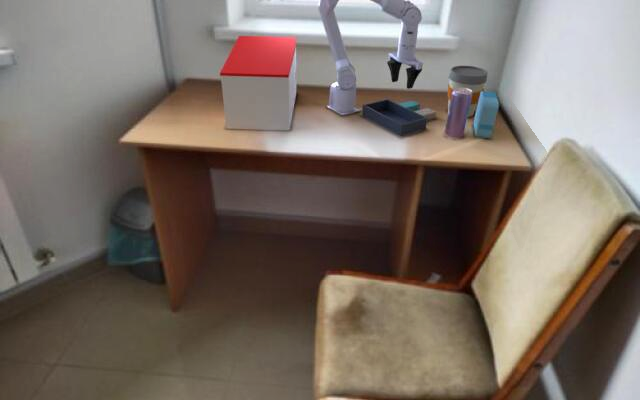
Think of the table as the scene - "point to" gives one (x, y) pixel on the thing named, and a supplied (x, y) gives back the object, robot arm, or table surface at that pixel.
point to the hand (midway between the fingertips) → (402, 84)
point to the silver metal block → (427, 113)
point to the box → (394, 117)
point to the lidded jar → (467, 83)
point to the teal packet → (411, 105)
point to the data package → (486, 114)
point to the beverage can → (458, 112)
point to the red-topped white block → (260, 83)
